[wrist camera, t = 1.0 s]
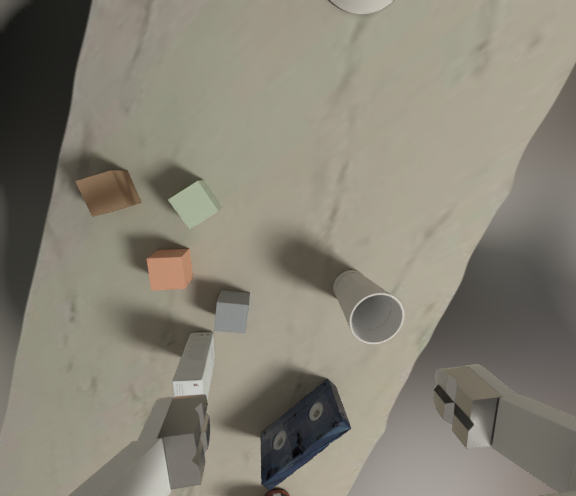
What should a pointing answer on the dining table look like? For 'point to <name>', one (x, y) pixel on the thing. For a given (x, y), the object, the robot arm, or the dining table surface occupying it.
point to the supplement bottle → (278, 493)
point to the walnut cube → (108, 192)
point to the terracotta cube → (170, 269)
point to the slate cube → (232, 311)
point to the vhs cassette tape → (302, 434)
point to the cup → (368, 308)
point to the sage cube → (195, 203)
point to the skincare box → (195, 366)
